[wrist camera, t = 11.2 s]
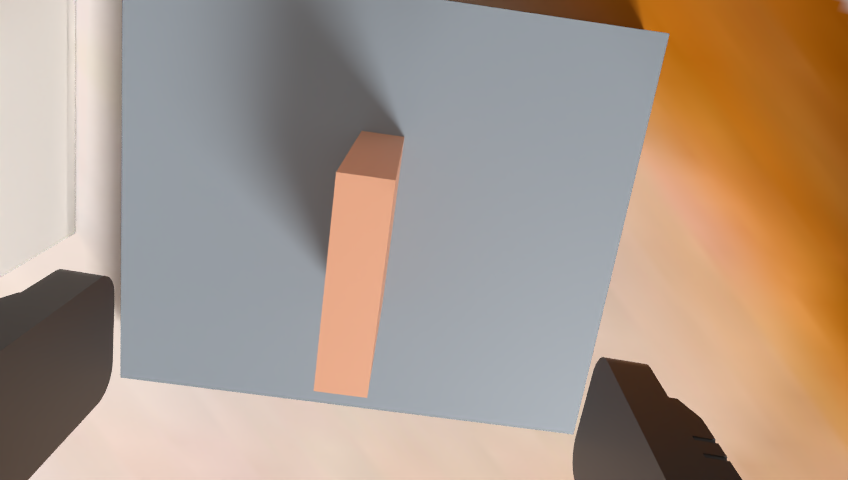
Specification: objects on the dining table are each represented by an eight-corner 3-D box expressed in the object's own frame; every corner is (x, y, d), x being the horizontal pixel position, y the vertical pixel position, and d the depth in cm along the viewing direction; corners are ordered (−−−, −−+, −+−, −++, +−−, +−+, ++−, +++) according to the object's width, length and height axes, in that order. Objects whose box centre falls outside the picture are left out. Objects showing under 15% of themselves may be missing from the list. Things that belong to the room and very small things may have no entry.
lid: (645, 32, 20) (769, 37, 13) (560, 399, 24) (619, 565, 16) (154, -41, 19) (-9, -79, 12) (146, 347, 23) (19, 493, 16)
